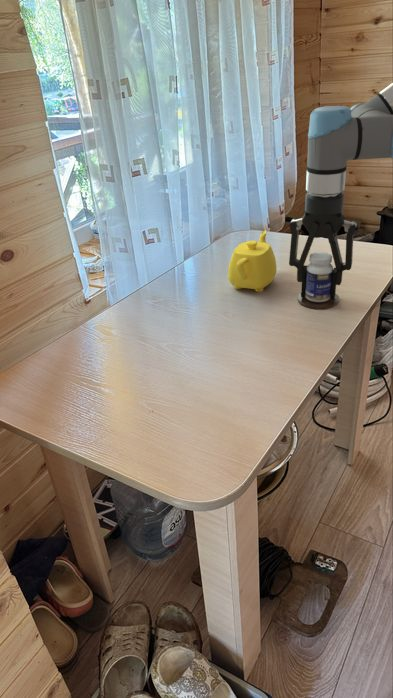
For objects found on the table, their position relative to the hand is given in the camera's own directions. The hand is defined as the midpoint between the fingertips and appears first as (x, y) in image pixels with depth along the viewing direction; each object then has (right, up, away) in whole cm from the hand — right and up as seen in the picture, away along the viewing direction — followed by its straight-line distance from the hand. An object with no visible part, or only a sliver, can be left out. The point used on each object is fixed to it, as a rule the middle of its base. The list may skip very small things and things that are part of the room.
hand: (318, 295), depth 115 cm
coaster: (0, -1, +1) cm, 1 cm away
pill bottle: (0, -1, 0) cm, 1 cm away
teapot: (-13, +4, +11) cm, 18 cm away
